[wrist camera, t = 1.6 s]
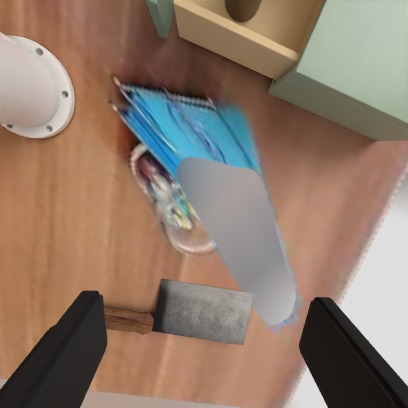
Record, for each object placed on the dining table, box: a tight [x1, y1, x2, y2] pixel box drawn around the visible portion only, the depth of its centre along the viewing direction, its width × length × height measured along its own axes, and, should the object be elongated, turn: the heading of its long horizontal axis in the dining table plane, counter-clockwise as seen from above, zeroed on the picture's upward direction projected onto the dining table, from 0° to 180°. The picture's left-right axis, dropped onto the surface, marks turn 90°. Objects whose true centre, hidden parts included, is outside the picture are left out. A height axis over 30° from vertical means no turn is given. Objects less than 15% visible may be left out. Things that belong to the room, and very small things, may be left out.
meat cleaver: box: [104, 279, 254, 345], centre depth 38 cm, size 34×11×4 cm, turn 78°
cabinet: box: [267, 0, 408, 141], centre depth 24 cm, size 20×15×9 cm
